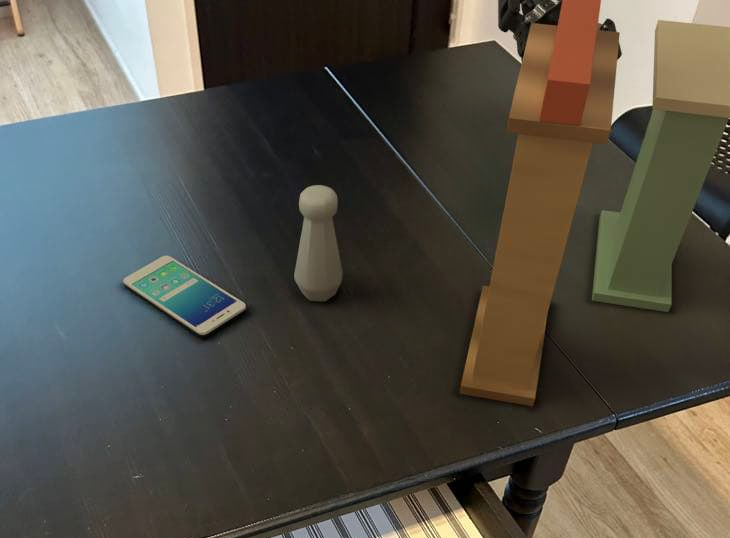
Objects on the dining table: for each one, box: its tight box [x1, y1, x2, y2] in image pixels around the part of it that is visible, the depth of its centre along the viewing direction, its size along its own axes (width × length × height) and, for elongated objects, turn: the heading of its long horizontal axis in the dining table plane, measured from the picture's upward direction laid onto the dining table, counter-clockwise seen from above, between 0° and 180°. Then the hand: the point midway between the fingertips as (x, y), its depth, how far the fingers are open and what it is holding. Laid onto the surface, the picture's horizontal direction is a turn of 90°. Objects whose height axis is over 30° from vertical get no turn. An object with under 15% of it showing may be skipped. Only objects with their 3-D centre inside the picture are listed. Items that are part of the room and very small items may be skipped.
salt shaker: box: [293, 184, 343, 302], centre depth 95 cm, size 6×6×13 cm
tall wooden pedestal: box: [459, 23, 621, 407], centre depth 82 cm, size 18×8×30 cm, turn 166°
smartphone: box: [122, 255, 247, 339], centre depth 99 cm, size 7×1×15 cm
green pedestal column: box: [591, 19, 730, 313], centre depth 94 cm, size 18×9×24 cm, turn 166°
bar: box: [539, 0, 602, 126], centre depth 72 cm, size 28×3×3 cm, turn 166°
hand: (565, 71), depth 88 cm, fingers open, 8 cm apart
